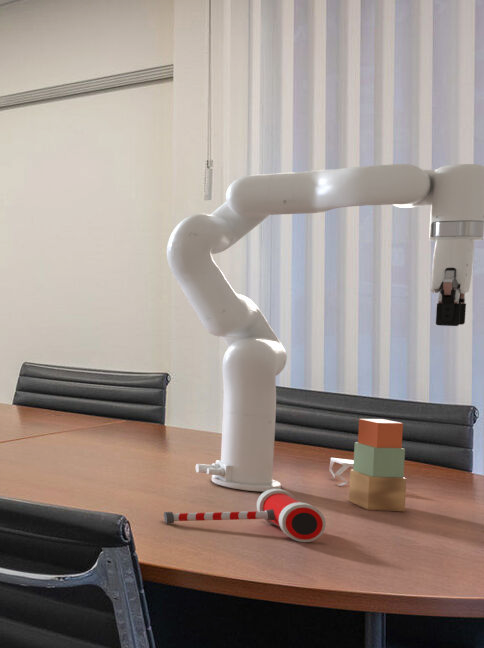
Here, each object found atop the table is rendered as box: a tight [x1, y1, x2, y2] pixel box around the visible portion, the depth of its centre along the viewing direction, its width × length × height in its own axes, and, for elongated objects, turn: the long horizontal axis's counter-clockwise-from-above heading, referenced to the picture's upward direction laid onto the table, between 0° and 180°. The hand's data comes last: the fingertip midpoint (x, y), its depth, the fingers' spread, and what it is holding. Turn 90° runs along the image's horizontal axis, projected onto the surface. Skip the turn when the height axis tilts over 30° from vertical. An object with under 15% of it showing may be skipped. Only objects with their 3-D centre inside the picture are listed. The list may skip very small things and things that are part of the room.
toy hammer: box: [163, 488, 327, 543], centre depth 148 cm, size 23×12×6 cm, turn 76°
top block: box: [357, 418, 404, 448], centre depth 164 cm, size 5×5×5 cm
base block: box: [348, 469, 407, 512], centre depth 165 cm, size 6×6×6 cm
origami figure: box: [328, 457, 354, 487], centre depth 181 cm, size 12×8×5 cm
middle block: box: [352, 441, 406, 478], centre depth 164 cm, size 6×6×6 cm
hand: (450, 324), depth 157 cm, fingers open, 9 cm apart
